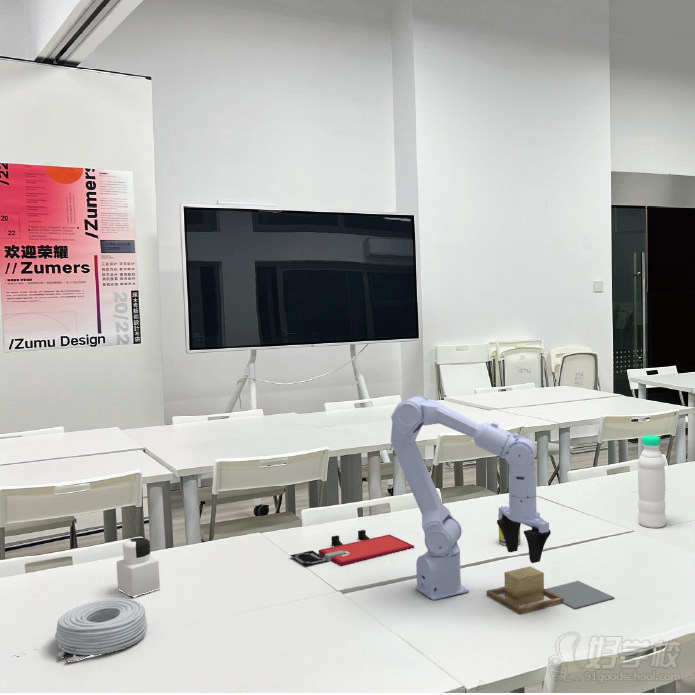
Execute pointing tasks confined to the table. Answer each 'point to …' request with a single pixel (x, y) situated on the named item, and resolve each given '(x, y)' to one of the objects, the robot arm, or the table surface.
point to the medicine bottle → (137, 568)
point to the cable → (100, 627)
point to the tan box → (524, 586)
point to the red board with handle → (355, 550)
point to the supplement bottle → (501, 537)
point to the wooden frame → (529, 608)
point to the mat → (579, 594)
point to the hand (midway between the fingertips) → (523, 556)
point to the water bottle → (651, 484)
